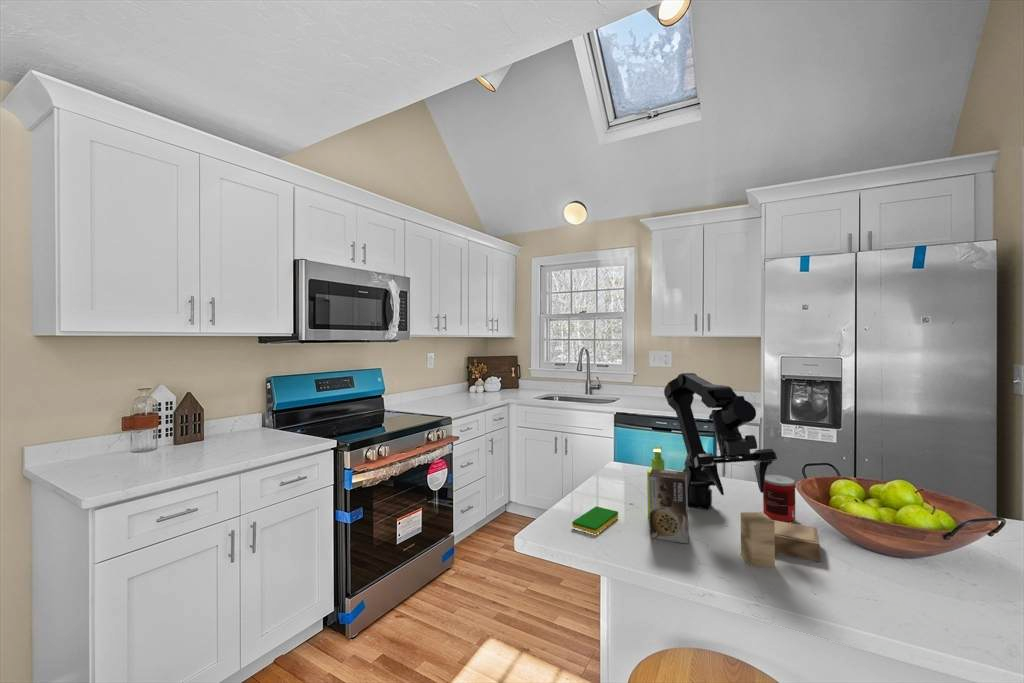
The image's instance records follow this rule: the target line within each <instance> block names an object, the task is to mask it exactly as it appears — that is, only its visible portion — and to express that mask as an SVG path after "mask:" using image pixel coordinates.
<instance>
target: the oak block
mask: <svg viewBox="0 0 1024 683" xmlns="http://www.w3.org/2000/svg"><path fill="white" fill-rule="evenodd" d="M775 554H776V553H775V527H774V521H773V520H772V519H771V518H769V517H768V516H767V515H765V514H764V513H763V512H762V511H761V512H752V511H751V512H740V556H741V557H742V558H743V559H744V558H745V559H746V560H745V559H744V560H745V561H746V562H747V563H748V562H749V563H750V564H751V565H752V566H751V565H750V564H749V563H748V564H749V565H750V566H751V567H775V566H776V559H775V558H776V556H775Z"/></svg>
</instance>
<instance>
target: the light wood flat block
mask: <svg viewBox="0 0 1024 683" xmlns="http://www.w3.org/2000/svg"><path fill="white" fill-rule="evenodd" d="M773 521H774V527H775V554H779V555H784V556H790V557H794V558H798V559H799V558H800V559H804V560H808V561H813V562H817V561H818V563H820V562H821V554H820V553H821V550H820V549H821V547H820V546H821V544H820V537H819V533H818V528H817V527H815V526H810V525H804V524H798V523H795V522H793V523H788V522H782V521H776V520H773Z"/></svg>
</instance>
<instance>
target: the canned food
mask: <svg viewBox="0 0 1024 683" xmlns="http://www.w3.org/2000/svg"><path fill="white" fill-rule="evenodd" d="M762 494H763V495H762V499H763V500H762V501H763V502H762V505H763V506H762V508H763V512H762V513H764V514H765V515H767V516H768V517H769V518H771V519H772V520H776V521H782V522H788V523H790V522H793V521H794V522H795V521H796V481H795V480H794V479H793V478H791V477H788V476H785V475H779V474H765V480H764V492H763V493H762ZM794 522H793V523H794Z"/></svg>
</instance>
